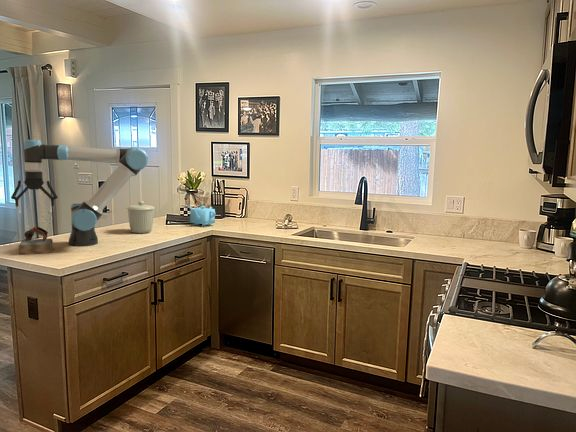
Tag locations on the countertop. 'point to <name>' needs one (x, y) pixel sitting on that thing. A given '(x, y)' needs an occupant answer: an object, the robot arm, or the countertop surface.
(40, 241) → the walnut plinth
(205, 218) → the teakettle
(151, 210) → the canister
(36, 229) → the brown headphones
